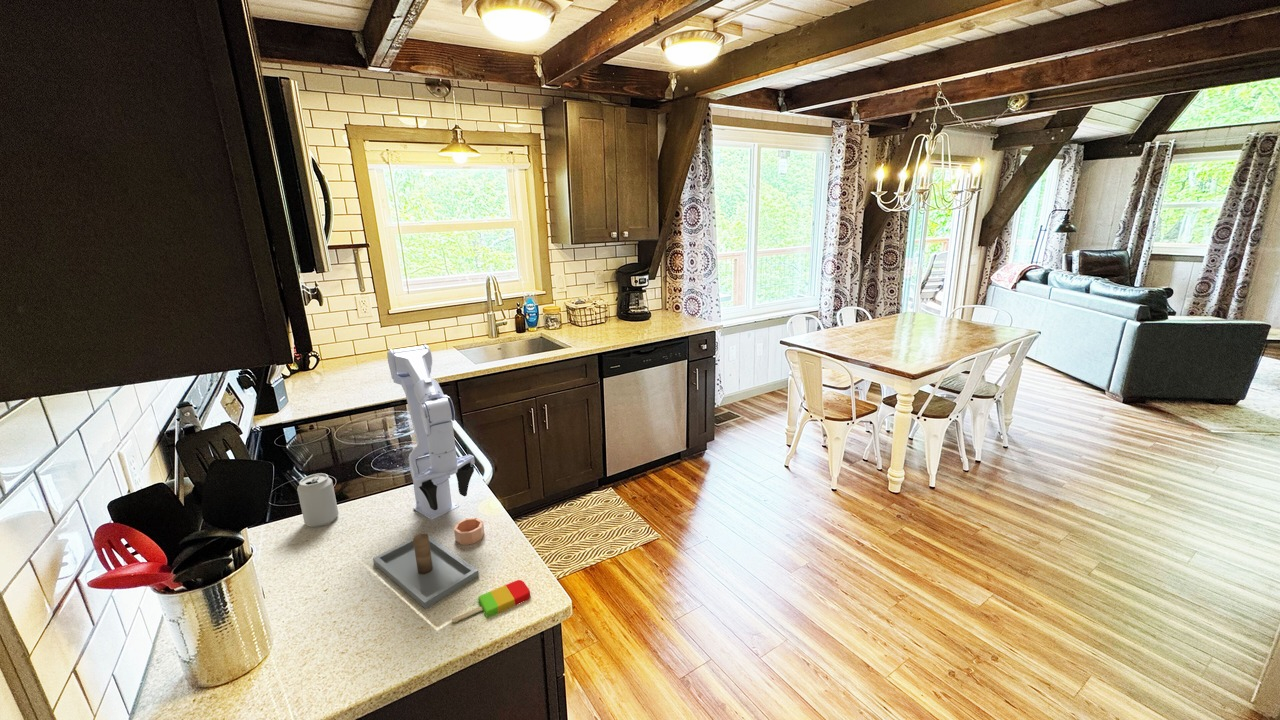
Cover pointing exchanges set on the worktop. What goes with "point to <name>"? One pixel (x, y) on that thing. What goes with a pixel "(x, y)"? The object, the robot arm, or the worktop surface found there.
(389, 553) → the tray
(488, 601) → the popsicle
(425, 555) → the pin
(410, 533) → the worktop surface
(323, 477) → the can
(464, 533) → the cup
